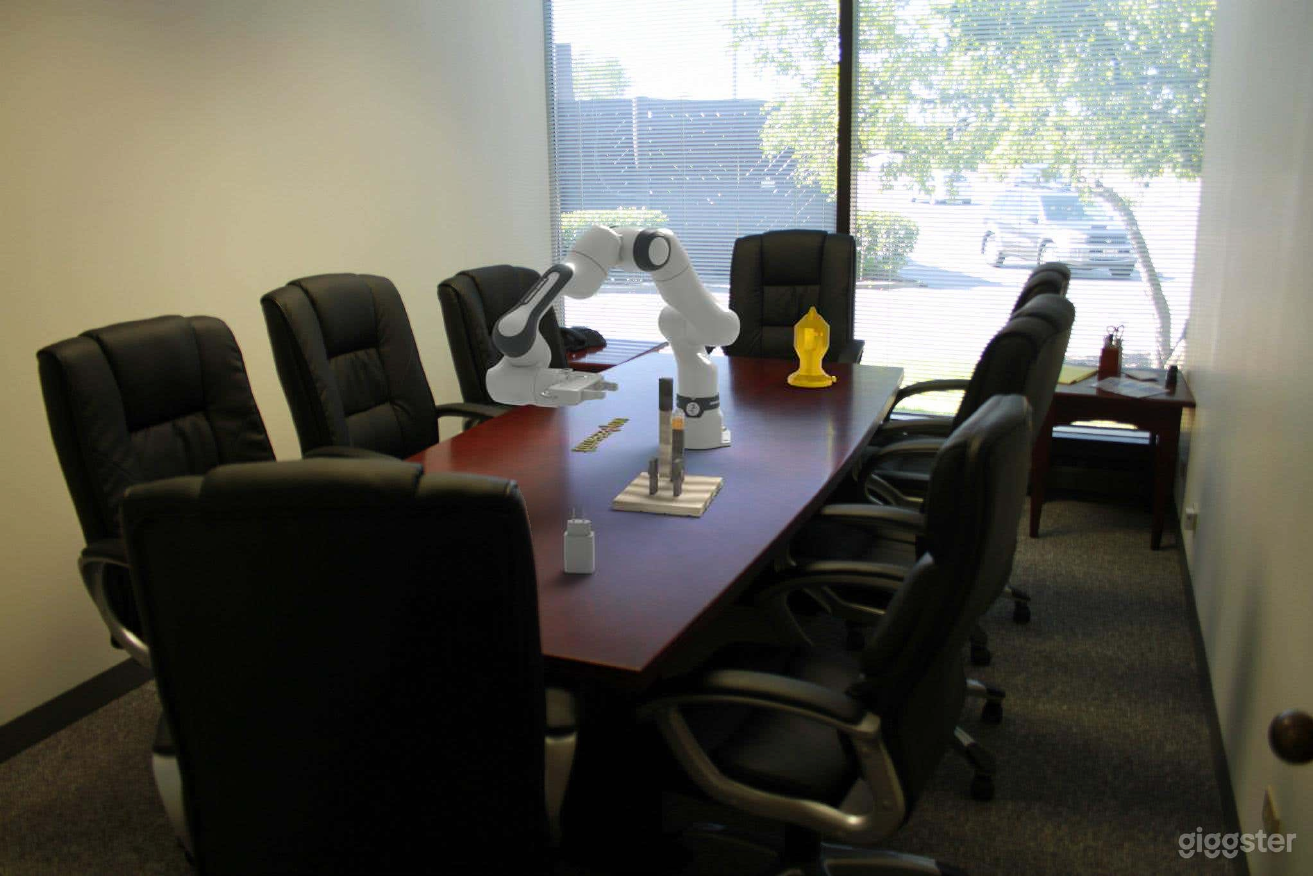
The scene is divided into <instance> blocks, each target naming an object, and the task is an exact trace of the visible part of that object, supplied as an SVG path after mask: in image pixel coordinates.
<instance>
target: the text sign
mask: <svg viewBox="0 0 1313 876" xmlns="http://www.w3.org/2000/svg"><path fill="white" fill-rule="evenodd" d="M629 421H630V418H624V417H623V418H621V417H615V418H613V419H612V420H611V421H608V424H602V425H601V424H600V425H598V428H600V430H596V431H595V432H594V433H592V434H591V435H590V436H588V437H587V438H586V439H584V440H583V441H581V442H580V443H578V444H577V445H575V446H574V448H571V449H570V450H571V452H579V451H584V452H583V453H588V452H587V451H594V452H596V450H597V449H598V445H599V444H598V443H599V442H602V440H603V441H604V439H606V438H608V436H610V435H612V433H613V432H621V431H622V428H621V427H622V426H624V425H625V424H626V423H628V422H629ZM595 436H596V437H595ZM590 438H592V439H590ZM598 441H599V442H598ZM586 442H593V443H586ZM582 444H585V445H582ZM596 444H597V445H596ZM595 445H596V446H595ZM592 447H593V448H592ZM594 447H595V448H594ZM575 448H578V449H575ZM589 449H590V450H589Z"/></svg>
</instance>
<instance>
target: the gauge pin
mask: <svg viewBox="0 0 1313 876" xmlns="http://www.w3.org/2000/svg"><path fill="white" fill-rule="evenodd" d="M684 417H685V413H679V414H678V415H676V416H675V417H672V429H681V430H683V429H684Z"/></svg>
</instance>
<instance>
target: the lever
mask: <svg viewBox="0 0 1313 876" xmlns="http://www.w3.org/2000/svg"><path fill="white" fill-rule="evenodd" d="M658 411H659V412H658V418H659V419H658V420H659V421H658V423H659V424H658V432H659V434H658V440H659V441H658V473H659V478H668V479H669V478H670V477H671V476H672V413H673V411H674V378H672V377H660V378H658Z"/></svg>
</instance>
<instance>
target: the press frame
mask: <svg viewBox="0 0 1313 876" xmlns="http://www.w3.org/2000/svg"><path fill="white" fill-rule="evenodd" d="M685 450H686V448H685V422H684V429H683V430H681V429H672V476H671V477H670V478H669V479H668V478H659V456H658V457H656V456H653V457H651V458H650V459H649V461H648V462H649V463H648V468H647V471H642V472H641V473H640V474H639V475H638V476H636V477H635V479H634V480H632V481H631V483H629V484H628V486H626V488H624V489H623V490H622V491H621V492H620V493H619V494H618V495H617V496H616V497H615V498H614V499H613V500H612V509H613V510H618V511H619V510H620V511H629V512H630V511H631V512H640V511H642V512H641V513H651V514H652V513H655V514H664V513H665V514H666V515H677V516H678V515H679V516H687V515H691V517H698V518H699V517H701V516H702V515H703V514H704V513H705V511H706V510H707V509H708V507H709V506H708V505H710V504H711V503H710V502H712V501H713V500H714V498H715V497H716V496H717V494H718V493H719V491H720V490H721V489H722V487H723V486H722V485H724V484H723V481H724V478H723V477H719V476H705V475H692V474H691V475H690V474H685V470H686V469H685V468H686V467H685V462H686V460H685V458H686V457H685V454H686V453H685V452H686V451H685ZM721 486H722V487H721ZM720 488H721V489H720ZM719 489H720V490H719ZM717 492H718V493H717ZM715 495H716V496H715ZM714 496H715V497H714ZM712 499H713V500H712ZM709 503H710V504H709ZM707 506H708V507H707ZM705 509H706V510H705ZM703 512H704V513H703ZM702 513H703V514H702ZM665 514H664V515H665Z"/></svg>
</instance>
